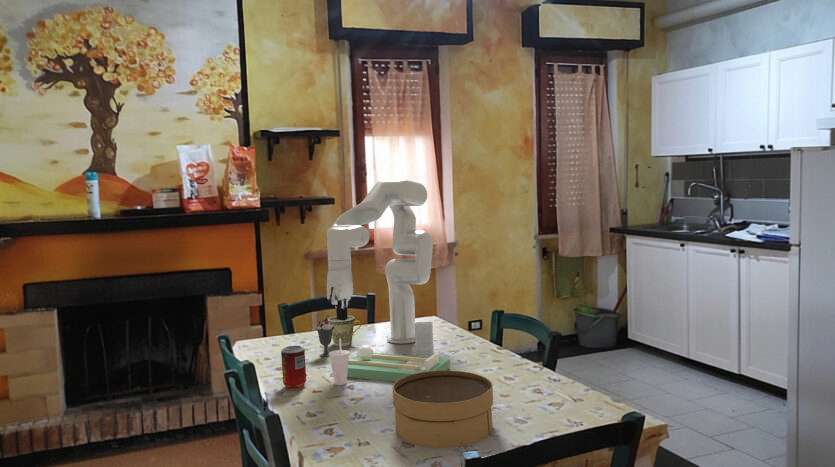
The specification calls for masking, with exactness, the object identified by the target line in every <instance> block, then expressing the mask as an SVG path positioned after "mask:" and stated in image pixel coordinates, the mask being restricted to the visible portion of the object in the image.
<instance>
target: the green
mask: <svg viewBox="0 0 835 467" xmlns="http://www.w3.org/2000/svg"><path fill="white" fill-rule="evenodd" d="M439 354H440V353H439V352H434V354H433V355H432V356H431V357H419V356H416V355H407V354H406V355H404V354H391V353H382V352H381V353H379V352H373V356H372V358H371V359H370V360H368V361H363V360H361V359H360V358H359V356H358V354H356V355H355V356H352V357H351V358H350V359H349V358H348V372H347V378H351V379H352V378H354V379H361V380H363V379H365V380H372V381H373V380H375V381H384V382H392V383H393V382H394V383H396V382H397V381H398V380H399V379H401V378H404V377H406V376H409V375H412V374H416V373H421V372H428V371H449V369H451V359H450V358H442V357H441V358H440V357H439V356H440V355H439Z"/></svg>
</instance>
